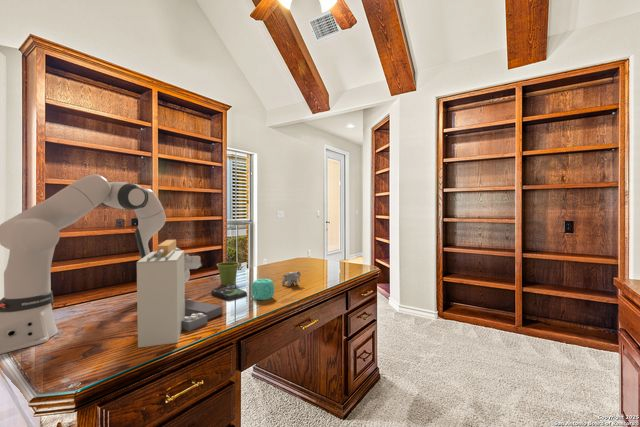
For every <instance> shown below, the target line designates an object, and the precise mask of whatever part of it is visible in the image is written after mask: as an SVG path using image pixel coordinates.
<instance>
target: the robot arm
mask: <svg viewBox="0 0 640 427" xmlns="http://www.w3.org/2000/svg"><path fill="white" fill-rule="evenodd" d="M100 204H101V205H103V206H105V207H108V208H115V209H118V210H129V211H131V210H133V211H134V214H135V216H136V218H137V221H138V225H137V227H136V228H135V229H134V234H135V240H136V244H137V248H138V251H139V255H140V259H142V258H143V257H145V256H146V255H148V254H149V253H151V252H150V251H151V250H150V248H149V243H150V242H149V241H150V240H151V239H152V237H153V236H155V234H157V233H158V232H159V231H160V230H161V229H162V228H163V227H164V226H165V224H166V222H167V216H166V213H165V209H164V207H163V205H162V202H161V200H159V198H158V196H157V195H156V193H155V192H154V191H153V190H152V189H150V188H149V187H148V188H147V187H145V188H144V187H142V186H141V185H140V184H136V183H134V182H126V181H125V182H124V181H108V180H107V178H105V177H104V176H102V175H100V174H96V173H95V174H94V173H93V174H89V175H86V176H83V177H81V178H79V179H77V180H75V181H73V182H72V183H70V184H68V185H67V186H66V187H64V188H62V189H60V190H59V191H57V192H56V193H55V194H53V195H51V196H49V198H47V199H45V200H44V201H42V202H39V203H37V204H36V205H34V206H31V207H30V208H29V207H28V208H27V209H26V210H24V211H22V212H20V213H18V214H17V215H16V214H15V215H14V216H12V217H11V218H10V219H7V220H5V221H4V222H2V223H0V246H2V247H3V248H5V249H8V250H9V252H8V253H9V254H8V260H7V265H6V268H5V270H4V272H3V294H4V296H3V297H2V298H0V355H2V354H5V353H10V352H13V351H17V350H20V349H24V348H28V347H32V346H36V345H40V344H44V343H46V342H48V340H49V339H50V338H51V337H53V336H56V335H57V333H58V332H59V328H58V327H57V325H56V321H55V317H54V313H53V307H54V294H53V290H52V289H51V288H52V285H51V284H52V282H51V278H52V277H51V276H52V275H51V272H52V271H51V270H52V261H53V257H54V253H55V250H56V249H55V248H56V245H58V243H59V241H60V239H61V238H60V237H61V234H60V231H61V230H63V229H65V228H66V227H68V226H71V225H73V224H75V223H76V222H78V221H79V220H80V219H82V218H83V217H84V216H86V215H88V213H90V212H91V211H93V210H94V209H95V208H96V207H97V206H99V205H100ZM175 251H183V250H182V249H181V248H179V247H177V246H176V249H175ZM202 266H203V264H202V262H201V256H199V255H192V256H191V255H189V254H188V253H187V254H185V253H184V279H185V284H186V283H187V282H188V281H189V280H190V278H191V277H190V274H191V273H190V270H197V269H199V268H201V267H202Z"/></svg>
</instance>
